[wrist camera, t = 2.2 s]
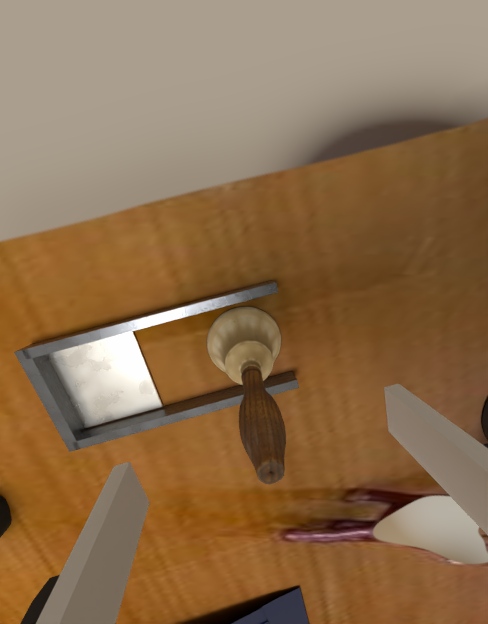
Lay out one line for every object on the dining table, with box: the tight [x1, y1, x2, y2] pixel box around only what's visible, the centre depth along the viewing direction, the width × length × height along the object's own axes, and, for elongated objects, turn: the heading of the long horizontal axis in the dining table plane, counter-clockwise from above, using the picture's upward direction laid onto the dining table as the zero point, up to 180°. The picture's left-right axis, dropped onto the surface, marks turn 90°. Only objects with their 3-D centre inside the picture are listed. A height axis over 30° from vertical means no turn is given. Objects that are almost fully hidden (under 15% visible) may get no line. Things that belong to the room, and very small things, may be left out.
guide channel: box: [14, 280, 299, 451], centre depth 25 cm, size 12×26×2 cm, turn 104°
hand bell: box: [207, 307, 286, 484], centre depth 18 cm, size 8×8×16 cm
